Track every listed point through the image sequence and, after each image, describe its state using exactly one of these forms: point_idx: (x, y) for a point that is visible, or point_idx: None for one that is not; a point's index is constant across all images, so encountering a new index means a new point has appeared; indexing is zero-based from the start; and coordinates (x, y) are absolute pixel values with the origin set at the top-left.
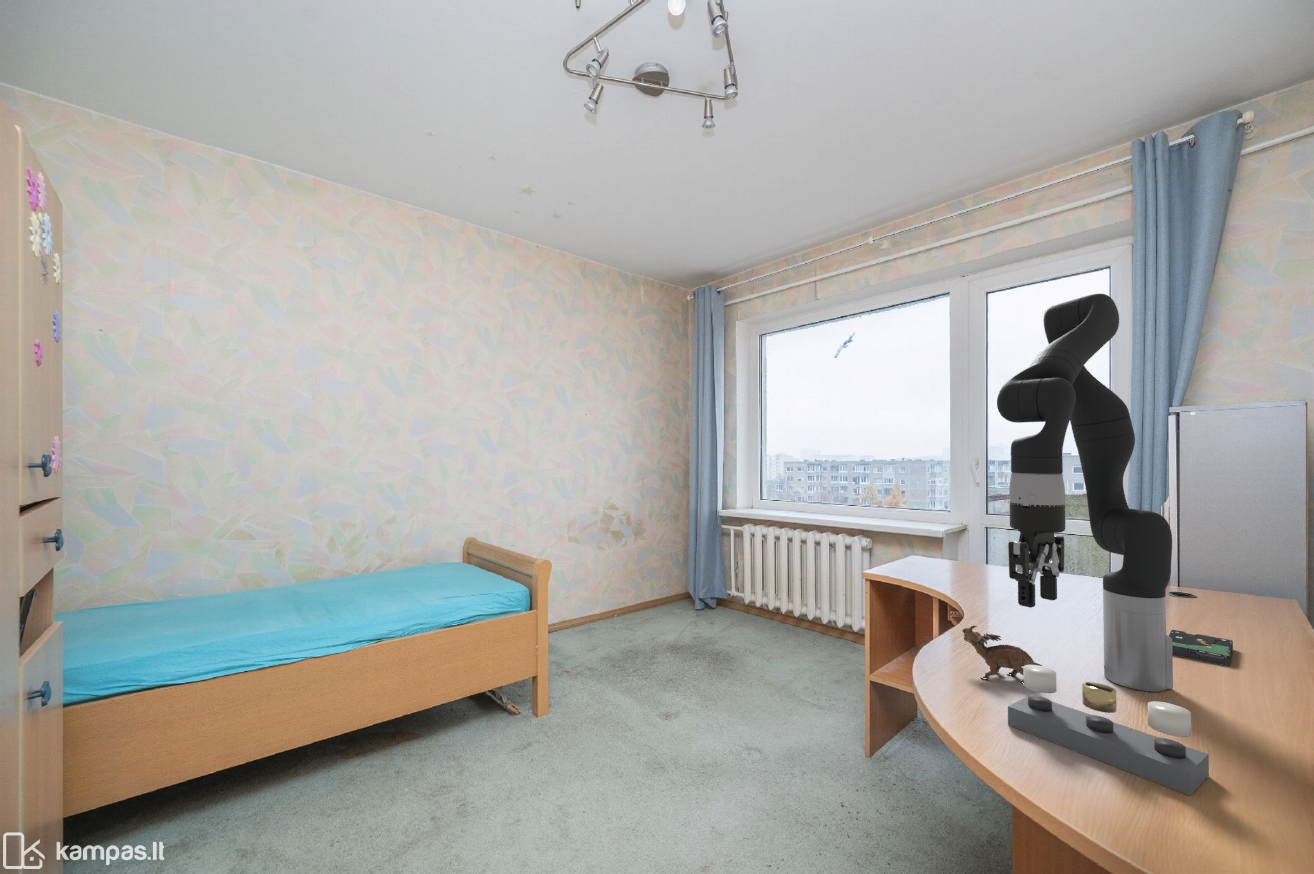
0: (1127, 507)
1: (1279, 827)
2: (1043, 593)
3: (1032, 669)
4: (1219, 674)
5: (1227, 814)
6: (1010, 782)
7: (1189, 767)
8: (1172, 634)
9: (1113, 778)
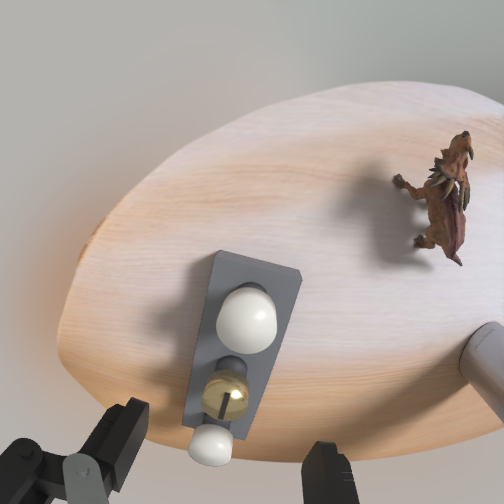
0: None
1: (186, 443)
2: (316, 458)
3: (237, 317)
4: None
5: (176, 424)
6: (77, 278)
7: (193, 426)
8: None
9: (165, 362)
